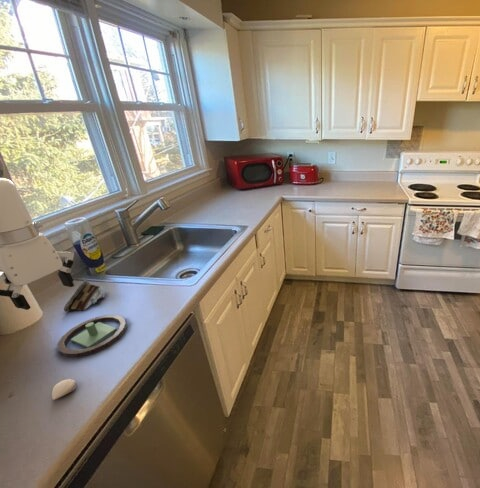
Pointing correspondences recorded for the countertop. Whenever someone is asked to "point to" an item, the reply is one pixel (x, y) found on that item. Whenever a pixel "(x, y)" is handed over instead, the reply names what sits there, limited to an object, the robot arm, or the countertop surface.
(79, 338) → the peg stand
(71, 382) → the cream half-moon wedge
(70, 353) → the hoop
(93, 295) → the chocolate cake
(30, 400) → the countertop surface
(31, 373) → the countertop surface
